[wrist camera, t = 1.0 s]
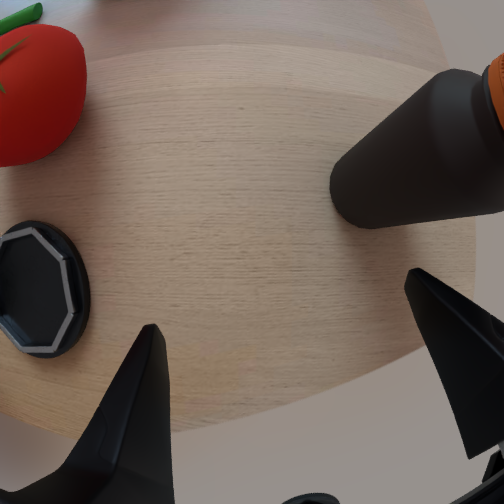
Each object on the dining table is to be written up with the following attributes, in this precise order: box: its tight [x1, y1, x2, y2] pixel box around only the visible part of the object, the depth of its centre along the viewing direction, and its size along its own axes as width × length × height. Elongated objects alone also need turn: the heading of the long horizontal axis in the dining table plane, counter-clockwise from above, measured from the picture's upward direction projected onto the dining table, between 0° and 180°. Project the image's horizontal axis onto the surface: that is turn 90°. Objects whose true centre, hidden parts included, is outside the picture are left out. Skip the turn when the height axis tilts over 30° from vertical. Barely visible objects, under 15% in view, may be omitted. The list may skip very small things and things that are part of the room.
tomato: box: [0, 24, 87, 167], centre depth 18 cm, size 13×14×12 cm
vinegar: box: [330, 53, 504, 229], centre depth 14 cm, size 7×7×20 cm
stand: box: [0, 221, 90, 359], centre depth 23 cm, size 13×13×2 cm
